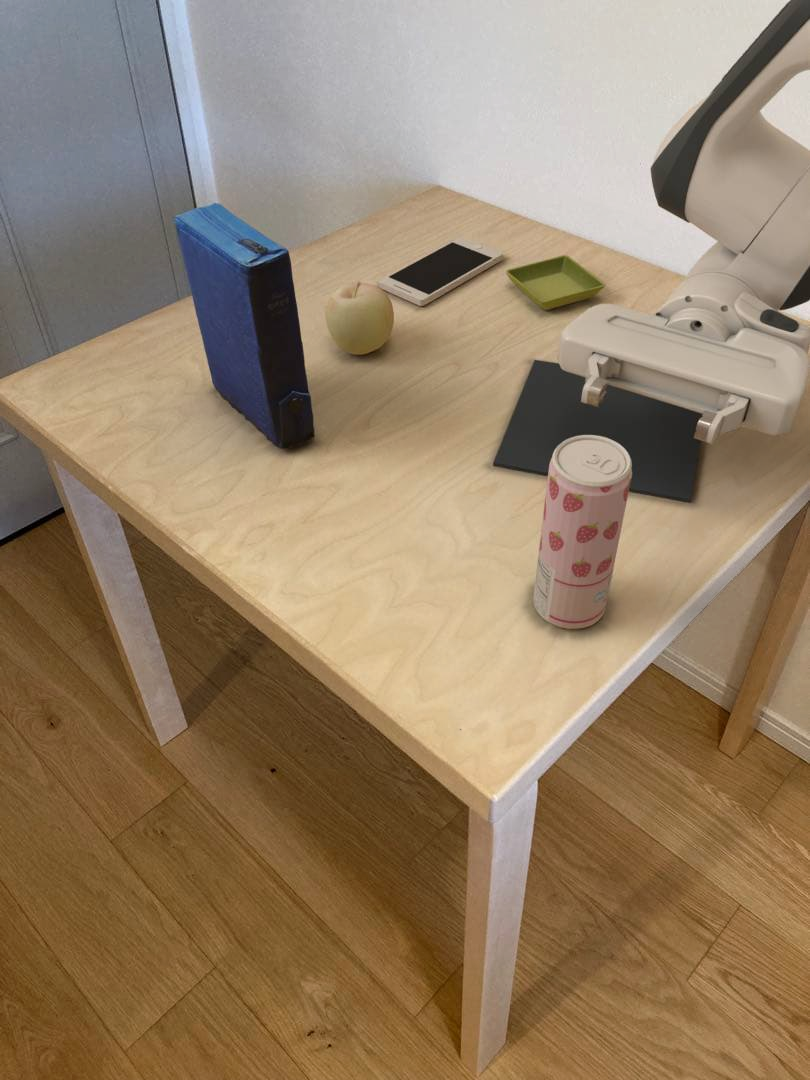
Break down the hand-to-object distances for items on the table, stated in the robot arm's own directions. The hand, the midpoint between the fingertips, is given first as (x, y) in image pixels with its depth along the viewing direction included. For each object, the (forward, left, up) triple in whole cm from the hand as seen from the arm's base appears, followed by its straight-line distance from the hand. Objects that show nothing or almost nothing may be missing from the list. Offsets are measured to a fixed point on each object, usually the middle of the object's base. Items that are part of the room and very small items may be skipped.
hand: (645, 415), depth 70 cm
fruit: (+32, -20, -11) cm, 39 cm away
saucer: (+14, -37, -11) cm, 41 cm away
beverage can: (+3, +11, -11) cm, 16 cm away
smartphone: (+28, -38, -11) cm, 48 cm away
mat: (+4, -13, -11) cm, 17 cm away
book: (+37, -5, -11) cm, 39 cm away
